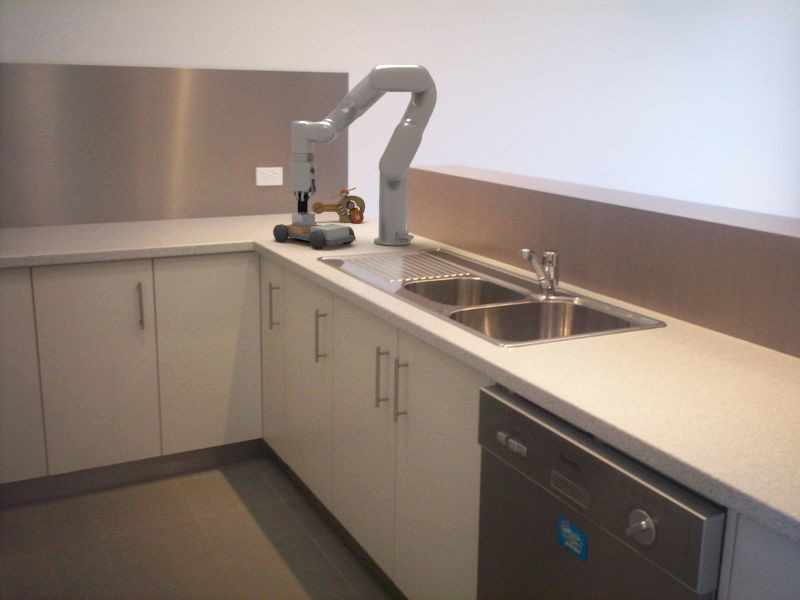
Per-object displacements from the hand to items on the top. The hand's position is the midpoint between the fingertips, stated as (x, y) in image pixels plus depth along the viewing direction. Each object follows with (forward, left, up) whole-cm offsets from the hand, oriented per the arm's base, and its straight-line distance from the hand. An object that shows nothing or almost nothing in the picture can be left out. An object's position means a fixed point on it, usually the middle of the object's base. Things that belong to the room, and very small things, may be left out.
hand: (302, 212), depth 301 cm
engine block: (0, 0, -7) cm, 7 cm away
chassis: (-5, 0, -10) cm, 11 cm away
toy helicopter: (+22, -40, -10) cm, 47 cm away
